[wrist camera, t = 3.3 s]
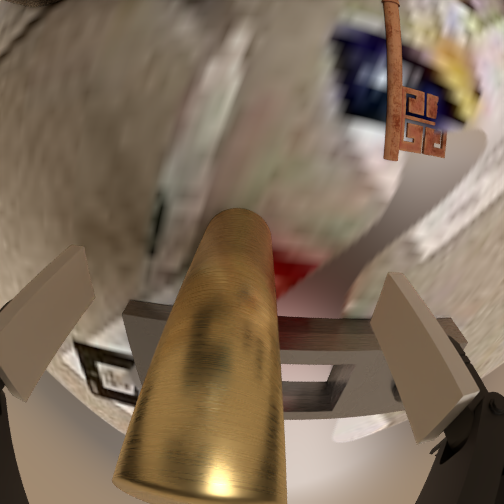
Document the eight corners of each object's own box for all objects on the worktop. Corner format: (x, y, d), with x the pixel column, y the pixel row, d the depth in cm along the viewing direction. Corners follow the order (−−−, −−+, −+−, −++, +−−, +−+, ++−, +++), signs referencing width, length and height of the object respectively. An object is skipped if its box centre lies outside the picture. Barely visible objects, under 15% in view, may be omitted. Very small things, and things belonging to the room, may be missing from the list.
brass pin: (205, 205, 15) (85, 458, 3) (274, 211, 15) (307, 492, 3) (204, 265, 16) (137, 502, 5) (267, 271, 16) (273, 520, 5)
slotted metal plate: (130, 300, 18) (109, 335, 14) (450, 318, 18) (471, 347, 15) (147, 374, 21) (135, 408, 18) (412, 382, 22) (424, 411, 18)
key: (437, 165, 14) (427, -38, 7) (446, 169, 13) (434, -42, 6) (354, 154, 13) (345, -68, 7) (361, 157, 13) (350, -74, 6)
